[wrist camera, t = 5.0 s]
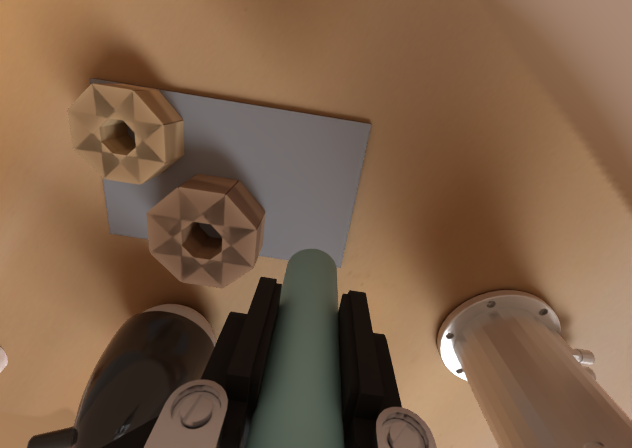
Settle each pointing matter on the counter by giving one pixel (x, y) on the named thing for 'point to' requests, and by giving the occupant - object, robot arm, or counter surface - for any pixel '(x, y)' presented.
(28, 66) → the counter surface
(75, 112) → the oak bead
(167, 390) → the pump dispenser
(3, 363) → the foam cup
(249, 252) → the bead
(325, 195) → the mat
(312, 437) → the teal rounded rod
